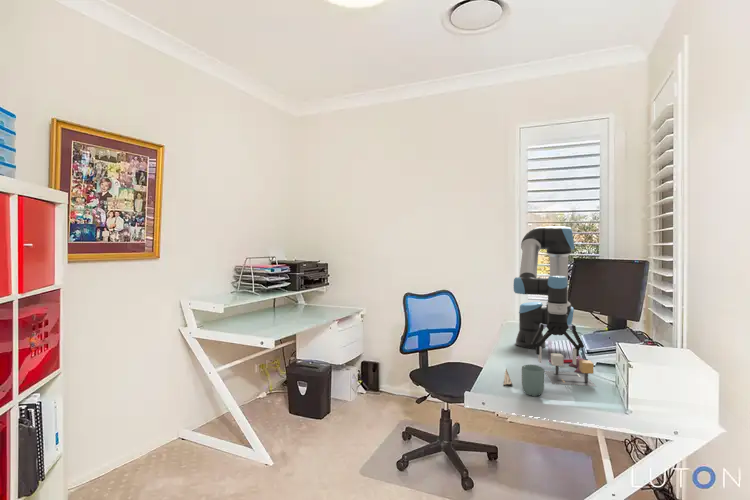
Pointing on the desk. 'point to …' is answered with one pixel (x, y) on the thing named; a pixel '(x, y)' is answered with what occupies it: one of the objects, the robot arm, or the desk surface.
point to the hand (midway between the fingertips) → (557, 363)
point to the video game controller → (576, 365)
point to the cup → (532, 379)
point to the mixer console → (568, 378)
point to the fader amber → (586, 368)
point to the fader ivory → (557, 361)
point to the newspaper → (507, 378)
